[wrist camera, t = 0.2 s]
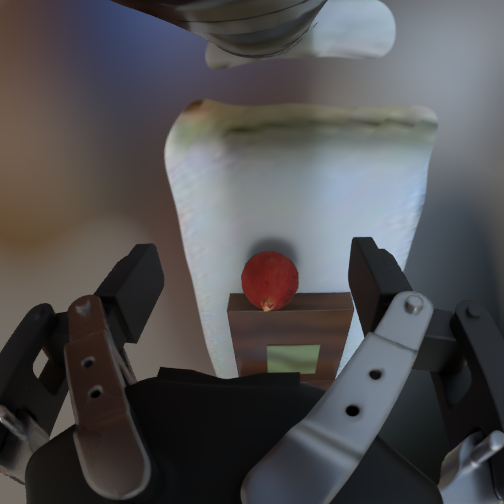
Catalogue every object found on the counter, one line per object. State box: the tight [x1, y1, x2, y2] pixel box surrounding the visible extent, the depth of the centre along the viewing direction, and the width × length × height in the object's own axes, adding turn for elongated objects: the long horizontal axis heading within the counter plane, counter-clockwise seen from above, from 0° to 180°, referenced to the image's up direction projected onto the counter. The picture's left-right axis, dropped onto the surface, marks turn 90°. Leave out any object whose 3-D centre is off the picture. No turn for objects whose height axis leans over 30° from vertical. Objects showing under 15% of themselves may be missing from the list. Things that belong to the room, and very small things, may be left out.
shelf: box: [227, 293, 354, 391], centre depth 37 cm, size 17×15×7 cm
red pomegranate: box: [241, 251, 299, 311], centre depth 29 cm, size 6×6×8 cm
